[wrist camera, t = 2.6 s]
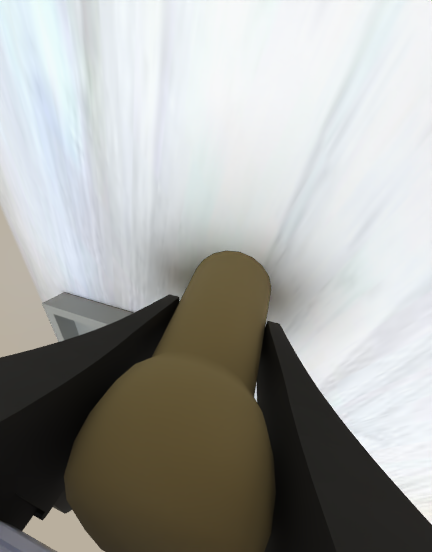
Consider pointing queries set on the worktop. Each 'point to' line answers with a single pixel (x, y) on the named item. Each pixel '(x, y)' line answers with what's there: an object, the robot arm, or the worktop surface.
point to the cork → (185, 429)
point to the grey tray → (79, 315)
